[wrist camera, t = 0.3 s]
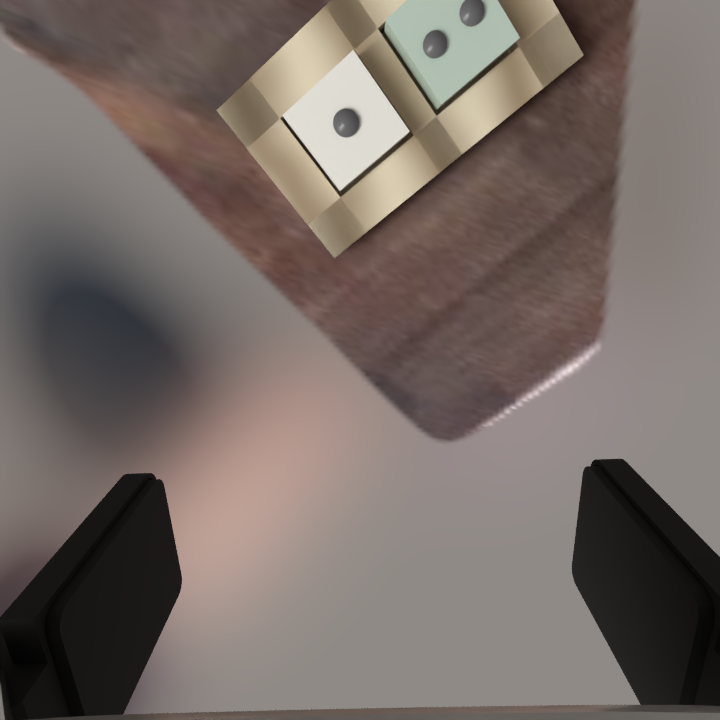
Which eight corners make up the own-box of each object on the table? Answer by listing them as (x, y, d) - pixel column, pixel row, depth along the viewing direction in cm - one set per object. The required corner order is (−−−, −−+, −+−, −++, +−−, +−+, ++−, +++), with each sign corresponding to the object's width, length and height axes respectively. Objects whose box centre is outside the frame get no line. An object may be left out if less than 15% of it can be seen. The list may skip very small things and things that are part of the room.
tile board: (464, -107, 30) (474, -138, 27) (565, 66, 33) (583, 55, 30) (228, 117, 34) (216, 110, 32) (336, 253, 37) (334, 258, 34)
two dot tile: (458, -37, 29) (466, -56, 27) (509, 48, 31) (520, 36, 28) (384, 31, 30) (385, 18, 28) (436, 110, 32) (441, 103, 30)
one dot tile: (354, 59, 31) (353, 49, 29) (407, 135, 32) (410, 130, 30) (287, 120, 32) (281, 114, 30) (341, 190, 33) (339, 190, 31)
